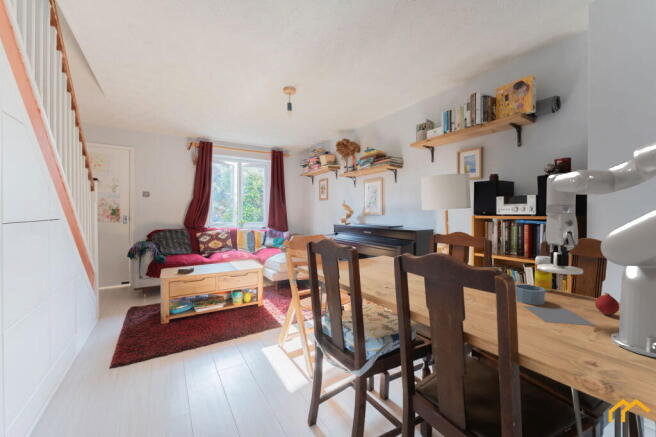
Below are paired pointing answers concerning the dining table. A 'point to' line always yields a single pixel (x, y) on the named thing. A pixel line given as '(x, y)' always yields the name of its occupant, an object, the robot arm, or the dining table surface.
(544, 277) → the yellow bottle
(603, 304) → the red rounded piece
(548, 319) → the mat
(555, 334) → the dining table surface
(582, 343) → the dining table surface
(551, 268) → the lid
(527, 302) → the bowl
